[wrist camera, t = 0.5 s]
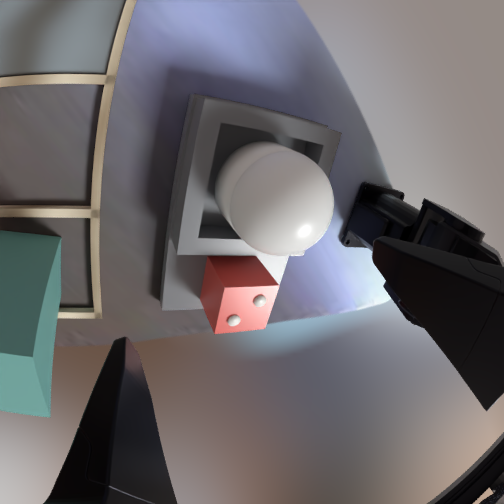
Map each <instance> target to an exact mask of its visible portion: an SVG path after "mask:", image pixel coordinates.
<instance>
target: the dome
mask: <svg viewBox="0 0 504 504" xmlns="http://www.w3.org/2000/svg"><path fill="white" fill-rule="evenodd" d="M215 200H216V203H217V206H218V208H219V210H220V212H221V213H222V215H223V216H224V217H225V219H226V220H227V221H228V223H229V224H230V225H231V226H232V228H233V229H234V230H235V232H236V233H237V234H238V235H239V236H240V238H241V239H242V240H243V241H244V242H245V243H247V244H248V245H249V246H251V247H252V248H254V249H255V250H257V251H260V252H262V253H265V254H269V255H274V256H288V255H293V254H297V253H300V252H302V251H304V250H306V249H308V248H310V247H311V246H313V245H314V244H315V243H316V242H318V241H319V239H320V238H321V237H322V236H323V235H324V233H325V232H326V230H327V229H328V227H329V225H330V222H331V219H332V215H333V210H334V196H333V190H332V187H331V184H330V182H329V180H328V178H327V176H326V174H325V173H324V171H323V170H322V169H321V168H320V167H319V166H318V165H317V164H316V163H315V162H314V161H313V160H311V159H310V158H308V157H307V156H305V155H303V154H301V153H298V152H296V151H294V150H292V149H289V148H287V147H285V146H282V145H280V144H278V143H275V142H271V141H256V142H251V143H248V144H246V145H244V146H241V147H240V148H238V149H237V150H235V151H234V152H233V153H232V154H231V155H230V156H229V157H228V158H227V159H226V160H225V162H224V163H223V164H222V166H221V168H220V170H219V172H218V175H217V178H216V182H215Z"/></svg>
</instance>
